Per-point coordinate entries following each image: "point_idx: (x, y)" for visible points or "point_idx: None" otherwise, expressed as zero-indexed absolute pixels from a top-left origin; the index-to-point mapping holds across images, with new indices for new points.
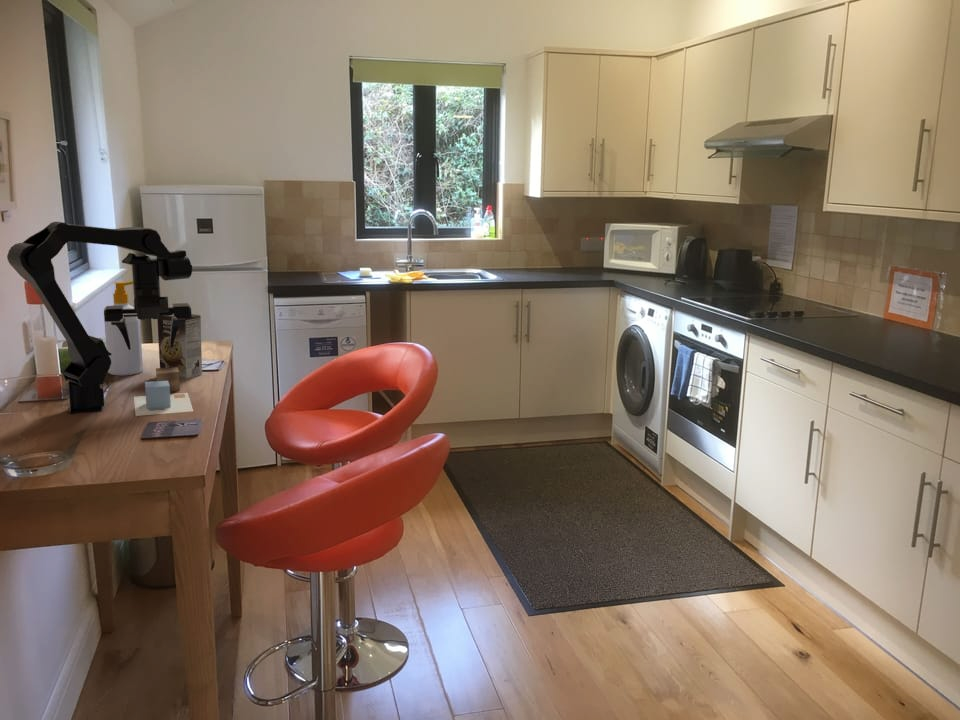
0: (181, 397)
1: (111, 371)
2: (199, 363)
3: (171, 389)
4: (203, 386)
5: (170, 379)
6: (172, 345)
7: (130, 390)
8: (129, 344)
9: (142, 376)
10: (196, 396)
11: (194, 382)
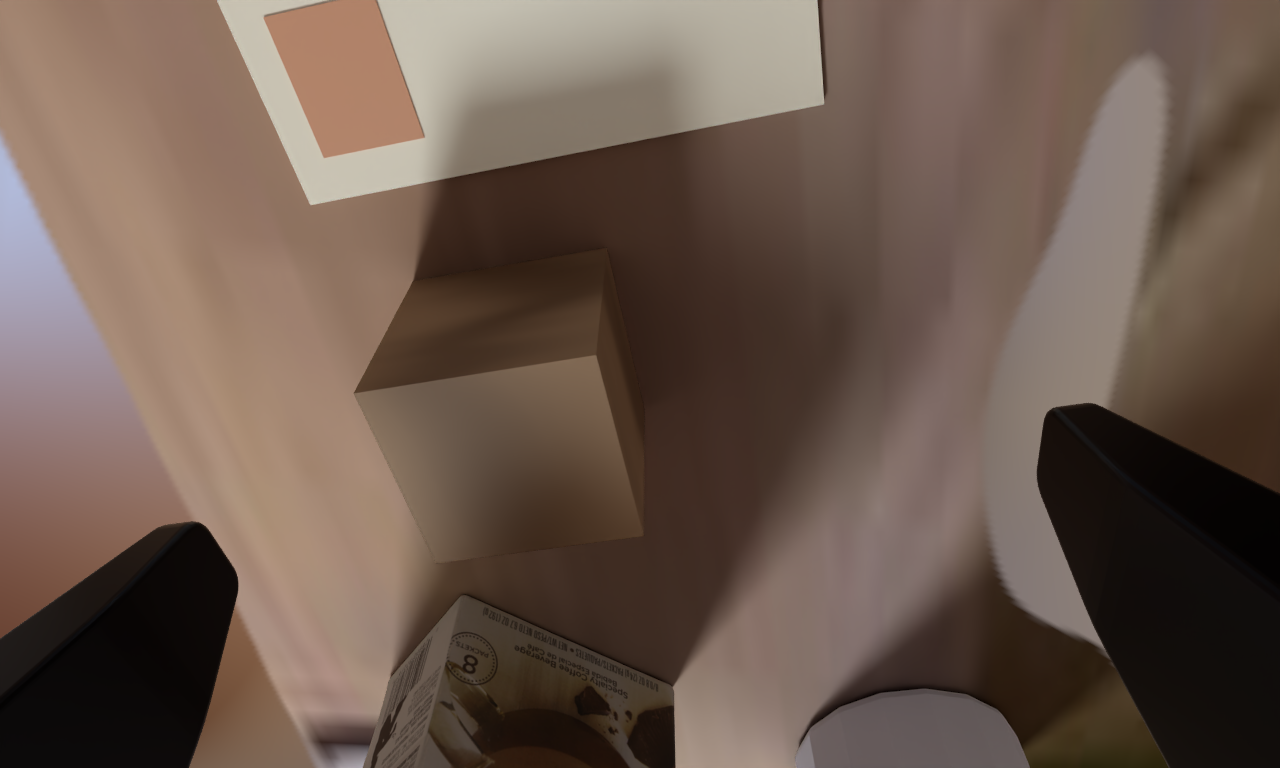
0: (303, 9)
1: (1002, 725)
2: (375, 749)
3: (480, 280)
4: (259, 415)
5: (465, 333)
6: (137, 548)
7: (862, 349)
8: (1131, 472)
9: (789, 667)
10: (176, 80)
11: (378, 521)
